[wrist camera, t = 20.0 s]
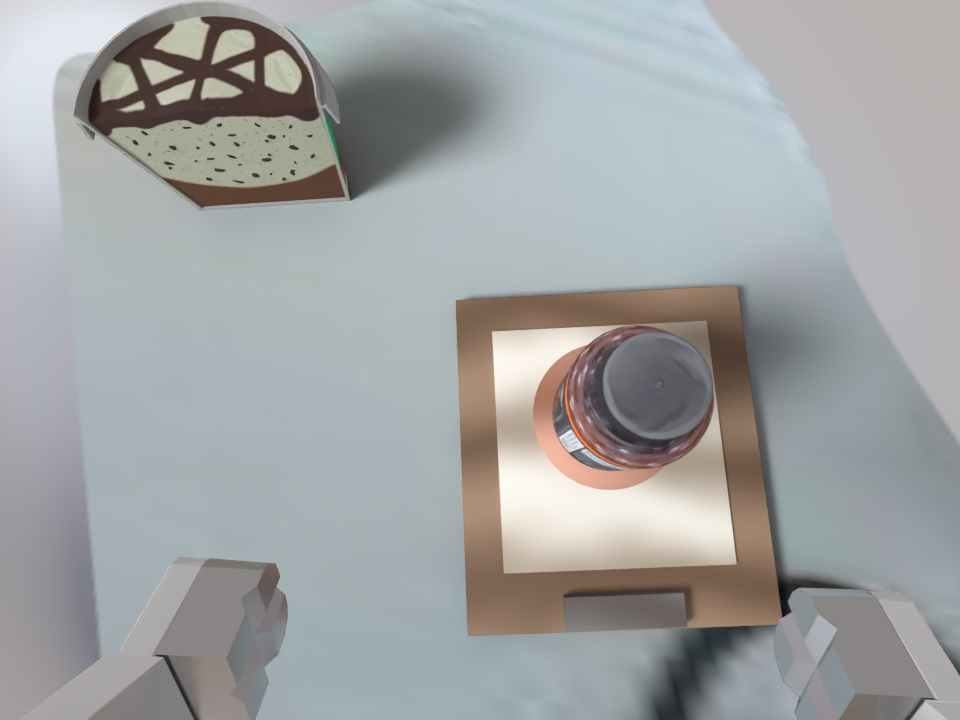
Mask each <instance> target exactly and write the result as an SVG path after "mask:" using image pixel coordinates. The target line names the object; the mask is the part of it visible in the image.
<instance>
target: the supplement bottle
mask: <svg viewBox="0 0 960 720" xmlns="http://www.w3.org/2000/svg"><path fill="white" fill-rule="evenodd" d="M713 408H714V392H713V380H712V374H711V371H710V369H709V366H708V364H707V362H706V360H705V359H704V357H703V356H702V354H701V353H700V352H699V351H698V350H697V349H696V348H695V347H694V346H693V345H692V344H690V343H689V342H687V341H686V340H684V339H682V338H680V337H678V336H676V335H674V334H672V333H671V332H668V331H665V330H663V329H659V328H656V327H652V326H643V325H631V326H623V327H619V328H616V329H613V330H611V331H608V332H606V333H604V334H602V335H600V336H599V337H597V338H595V339H594V340H593V341H592V342H591V343H589V344H588V345H587V346H586V347H585V348H584V349H583V350H582V352H581V353H580V354H579V355H578V357H577V358H576V360H575V361H574V363H573V364H572V366H571V367H570V369H569V371H568V372H567V374H566V376H565V377H564V379H563V380H562V381H561V383H560V385H559V387H558V389H557V391H556V394H555V398H554V402H553V410H552V418H553V426H554V430H555V433H556V435H557V437H558V439H559V441H560V443H561V444H562V446H563V448H564V449H565V450H566V451H567V452H568V453H569V454H570V455H571V456H572V457H573V458H574V459H576V460H577V461H579V462H580V463H582V464H584V465H586V466H589V467H591V468H594V469H599V470H605V471H622V470H637V469H649V468H656V467H661V466H664V465H667V464H670V463H672V462H674V461H676V460H678V459H680V458H682V457H683V456H685V455H686V454H688V453H689V452H690V451H691V450H692V449H693V448H695V446H696V445H697V444H698V443H699V442H700V440H701V439H702V437H703V436H704V434H705V432H706V431H707V428H708V426H709V424H710V422H711V418H712V414H713Z"/></svg>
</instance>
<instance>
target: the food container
mask: <svg viewBox="0 0 960 720" xmlns="http://www.w3.org/2000/svg"><path fill="white" fill-rule="evenodd" d="M327 112H328V113H329V114H330V115H331V116H332V118H333V119H334V120H335V121H336V122H337V124H338V123H341V122H340V113H339V105H338V101H337V98H336V94H335V91H334V88H333V86H332V84H331V82H330V80H329V78H328V76H327V73H326V72H325V71H324V69H323V68H322V67H321V65H320V64H319V62H318V61H317V60H316V58H315V57H314V56H313V55H312V53H311V52H310V51H309V50H308V48H307V47H306V46H305V45H304V43H303V42H302V41H301V40H299V39H298V38H297V37H296V36H295V35H294V34H293V33H292V32H291V31H290V30H289V29H287V28H286V27H284V26H283V25H281V24H280V23H278V22H277V21H276V20H274V19H272V18H271V17H270V16H268V15H266V14H264V13H262V12H260V11H258V10H255V9H253V8H251V7H247V6H244V5H240V4H237V3H232V2H224V1H193V2H186V3H179V4H176V5H173V6H169V7H165V8H162V9H159V10H157V11H155V12H153V13H150V14H148V15H145V16H144V17H142V18H140V19H138V20H137V21H135V22H133V23H132V24H130V25H128V26H127V27H126V28H124V29H123V30H122V31H121V32H119V33H118V34H117V35H115V36H114V37H113V38H112V39H111V40H110V41H109V42H108V43H107V44H106V45H105V46H104V47H103V48H102V49H101V50H100V51H99V53H98V54H97V56H96V57H95V58H94V60H93V61H92V62H91V64H90V65H89V67H88V69H87V71H86V72H85V74H84V76H83V78H82V80H81V82H80V85H79V88H78V91H77V93H76V96H75V100H74V105H73V110H72V115H73V116H74V117H75V118H76V119H77V120H76V124H77V125H78V126H79V127H80V128H81V130H82V131H83V132H84V133H85V134H86V136H87V137H88V138H89V139H90V140H94V136H95V133H96V134H97V135H98V136H100V137H101V138H103V139H104V140H105V141H107V142H108V143H109V144H111V145H112V146H113V147H115V148H116V149H117V150H119V151H120V152H122V153H123V154H124V155H126V156H127V157H128V158H130V159H131V160H132V161H134V162H135V163H136V164H138V165H139V166H141V167H142V168H143V169H145V170H146V171H147V172H149V173H150V174H151V175H153V176H154V177H156V178H157V179H158V180H160V181H161V182H162V183H164V184H165V185H166V186H168V187H169V188H170V189H172V190H173V191H175V192H176V193H177V194H179V195H180V196H181V197H183V198H184V199H185V200H187V201H188V202H189V203H191V204H192V205H194V206H195V207H196V208H198V209H199V210H200V211H202V210H218V209H233V208H248V207H264V206H279V205H294V204H309V203H325V202H340V201H350V191H349V183H348V180H347V176H346V173H345V170H344V166H343V163H342V160H341V156H340V153H339V150H338V147H337V143H336V140H335V137H334V133H333V130H332V127H331V123H330V120H329V117H328V113H327Z"/></svg>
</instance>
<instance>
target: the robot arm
mask: <svg viewBox="0 0 960 720" xmlns="http://www.w3.org/2000/svg"><path fill="white" fill-rule="evenodd" d="M279 578H280V575H279V572H278V569H277V566H276V563H266V562H252V561H238V560H223V559H212V558H194V557H179V558H178V559H177V560H175V561H174V562H173V563H172V564H171V565H170V566H169V567H168V569H167V571H166V573H165V574H164V576H163V578H162V579H161V581H160V583H159V584H158V586H157V588H156V589H155V591H154V593H153V595H152V596H151V598H150V600H149V601H148V603H147V605H146V606H145V608H144V610H143V611H142V613H141V615H140V616H139V618H138V620H137V622H136V623H135V625H134V627H133V628H132V630H131V632H130V633H129V635H128V637H127V638H126V640H125V642H124V644H123V645H122V647H121V649H120V650H119V652H118V654H107V655H105V656H104V657H103V658H101V659H100V660H99V661H97V662H96V663H95V664H93V665H92V666H91V667H89V668H88V669H87V670H85V671H84V672H82V673H81V674H80V675H78V676H77V677H76V678H74V679H73V680H72V681H70V682H69V683H68V684H66V685H65V686H64V687H62V688H61V689H60V690H58V691H57V692H56V693H54V694H53V695H52V696H50V697H49V698H48V699H46V700H45V701H44V702H42V703H41V704H40V705H38V706H37V707H36V708H34V709H33V710H32V711H30V712H29V713H28V714H26V715H25V716H24V717H22V718H21V719H20V720H255V719H256V716H257V714H258V711H259V708H260V705H261V702H262V700H263V697H264V694H265V691H266V688H267V686H268V683H269V681H268V678H267V675H266V672H265V669H264V667H265V666H266V665H267V664H268V663H269V662H270V661H272V660H273V659H274V658H275V657H276V656H277V655H278V654H279V651H280V648H281V645H282V642H283V639H284V636H285V630H286V624H287V618H288V611H287V601H286V597H285V594H284V593H283V592H282V591H280V590H279V589H278V588H277V587H276V586H277V583H278V580H279ZM788 604H789V606H790V608H791V611H792V613H790V614H788V615H787V616H785V617H783V618H781V619H780V620H779V623H778V625H777V628H776V630H775V633H774V652H775V657H776V662H777V666H778V669H779V672H780V675H781V677H782V680H783V683H784V684H785V685H787V686H788V687H789V688H790V689H791V690H792V691H793V692H794V693H795V694H796V695H797V696H798V697H799V700H798V703H797V706H796V709H795V712H794V713H795V715H796V718H797V720H960V676H959V674H958V672H957V671H956V669H955V668H954V666H953V665H952V663H951V661H950V660H949V658H948V657H947V655H946V654H945V652H944V650H943V649H942V647H941V646H940V644H939V643H938V641H937V639H936V638H935V636H934V635H933V633H932V632H931V630H930V628H929V627H928V625H927V624H926V622H925V620H924V619H923V617H922V616H921V614H920V613H919V611H918V609H917V608H916V606H915V605H914V603H913V602H912V600H911V599H909V598H908V597H907V596H906V595H905V594H903V593H898V592H875V591H863V590H850V589H820V588H798V589H797V590H795V591H793V592H792V594H791V596H790V598H789V601H788Z"/></svg>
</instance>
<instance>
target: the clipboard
mask: <svg viewBox="0 0 960 720" xmlns="http://www.w3.org/2000/svg"><path fill="white" fill-rule="evenodd" d="M456 320H457V348H458V376H459V403H460V431H461V459H462V486H463V514H464V542H465V569H466V597H467V625H468V636H483V635H510V634H537V633H564V632H591V631H618V630H645V629H672V628H699V627H726V626H753V625H778V623H779V620H780V619H781V618H782V613H781V605H780V598H779V591H778V583H777V576H776V568H775V561H774V554H773V546H772V539H771V532H770V524H769V517H768V510H767V502H766V495H765V488H764V480H763V473H762V465H761V458H760V451H759V443H758V436H757V429H756V421H755V414H754V407H753V399H752V392H751V385H750V377H749V370H748V362H747V355H746V348H745V340H744V333H743V326H742V318H741V311H740V304H739V296H738V289H737V286H720V287H701V288H682V289H663V290H643V291H624V292H605V293H586V294H566V295H547V296H528V297H508V298H489V299H470V300H456ZM631 325H643V326H652V327H656V328H659V329H663V330H665V331H668V332H671V333H672V334H674V335H676V336H678V337H680V338H682V339H684V340H686V341H687V342H689V343H690V344H692V345H693V346H694V347H695V348H696V349H697V350H698V351H699V352H700V353H701V354H702V356H703V357H704V359H705V360H706V362H707V364H708V366H709V369H710V371H711V374H712V380H713V392H714V408H713V414H712V418H711V422H710V424H709V426H708V428H707V431H706V432H705V434H704V436H703V437H702V439H701V440H700V442H699V443H698V444H697V445H696V446H695V448H693V449H692V450H691V451H690V452H689V453H688V454H686V455H685V456H683V457H682V458H680V459H678V460H676V461H674V462H672V463H670V464H667V465H664V466H661V467H656V468H649V469H637V470H622V471H605V470H599V469H594V468H591V467H589V466H586V465H584V464H582V463H580V462H579V461H577V460H576V459H574V458H573V457H572V456H571V455H570V454H569V453H568V452H567V451H566V450H565V449H564V448H563V446H562V444H561V443H560V441H559V439H558V437H557V435H556V433H555V430H554V426H553V418H552V410H553V402H554V398H555V394H556V391H557V389H558V387H559V385H560V383H561V381H562V380H563V379H564V377H565V376H566V374H567V372H568V371H569V369H570V367H571V366H572V364H573V363H574V361H575V360H576V358H577V357H578V355H579V354H580V353H581V352H582V350H583V349H584V348H585V347H586V346H587V345H588V344H589V343H591V342H592V341H593V340H594V339H595V338H597V337H599V336H600V335H602V334H604V333H606V332H608V331H611V330H613V329H616V328H619V327H623V326H631Z"/></svg>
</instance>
